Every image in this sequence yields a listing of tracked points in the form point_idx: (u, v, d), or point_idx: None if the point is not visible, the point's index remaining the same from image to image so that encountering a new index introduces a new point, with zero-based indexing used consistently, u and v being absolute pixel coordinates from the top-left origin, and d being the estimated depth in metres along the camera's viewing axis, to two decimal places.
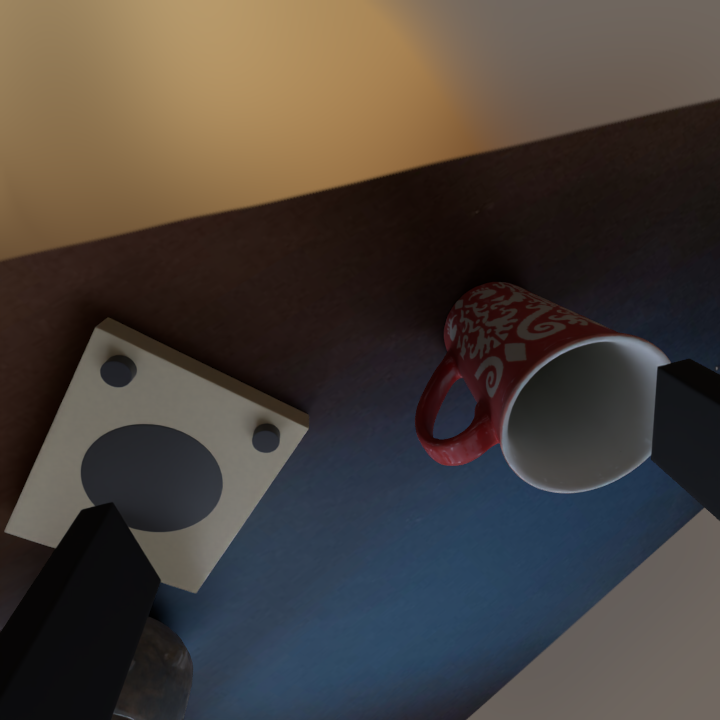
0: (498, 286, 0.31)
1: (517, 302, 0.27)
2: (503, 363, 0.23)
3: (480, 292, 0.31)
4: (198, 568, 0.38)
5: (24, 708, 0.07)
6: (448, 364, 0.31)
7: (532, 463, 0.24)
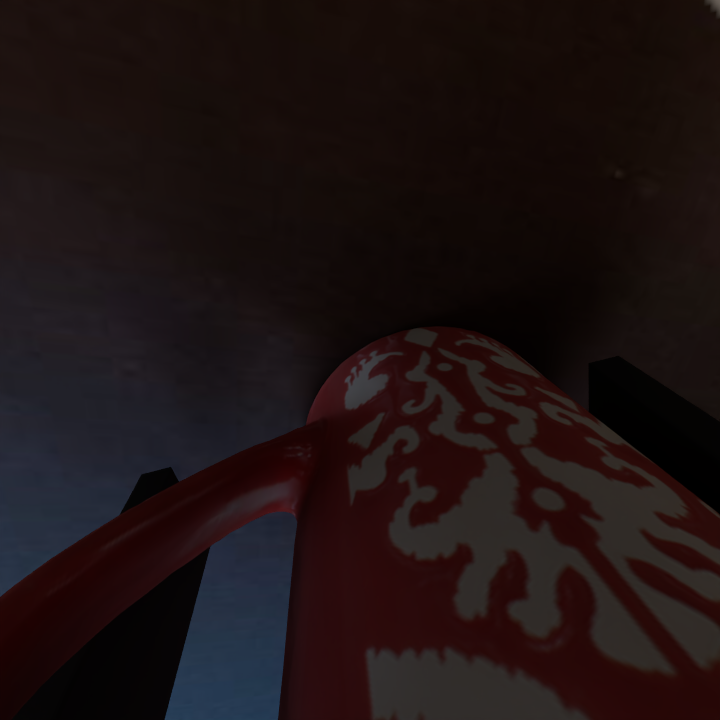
0: (534, 368, 0.11)
1: (645, 458, 0.07)
2: None
3: (492, 348, 0.11)
4: None
5: (117, 638, 0.08)
6: (288, 460, 0.09)
7: None
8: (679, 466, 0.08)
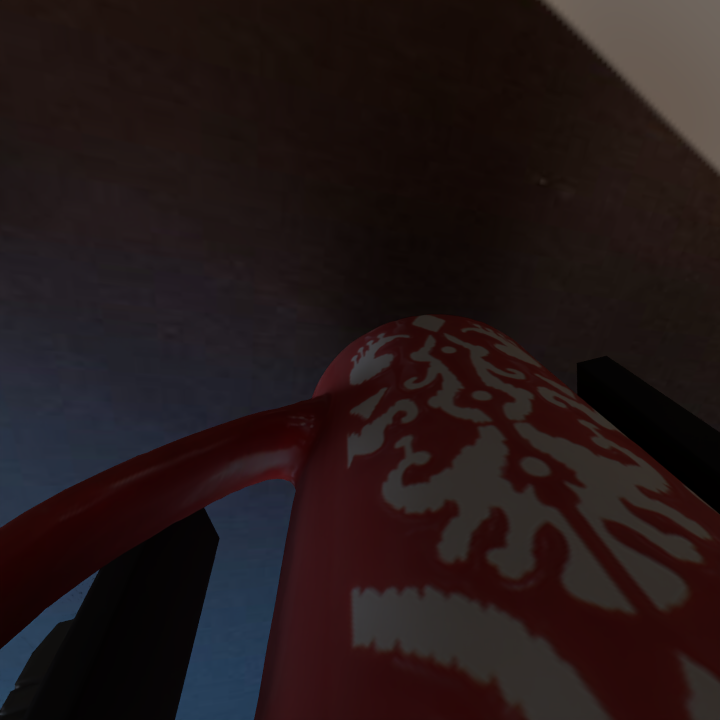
0: None
1: None
2: None
3: (497, 337, 0.11)
4: None
5: (132, 627, 0.08)
6: (291, 429, 0.10)
7: None
8: (663, 465, 0.09)
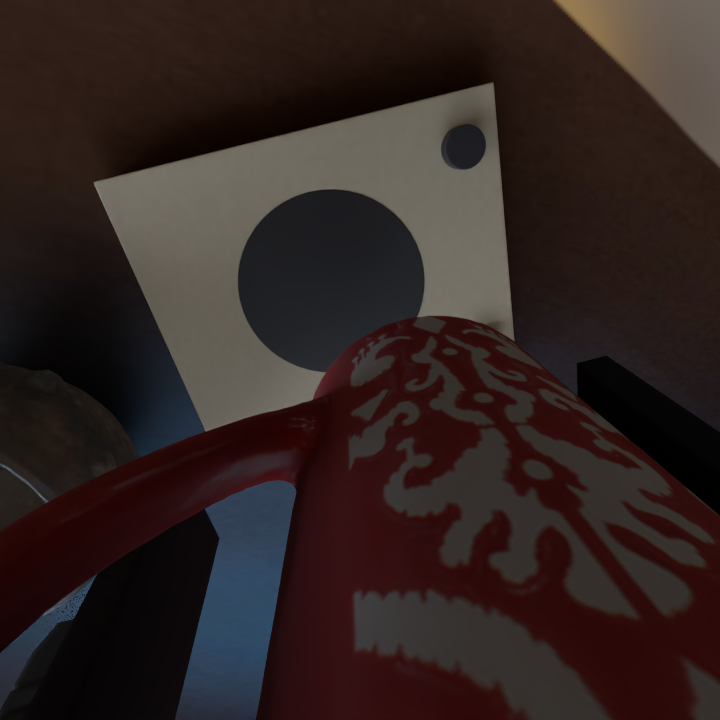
0: (538, 362, 0.11)
1: (637, 447, 0.07)
2: None
3: (498, 339, 0.11)
4: None
5: (131, 628, 0.08)
6: (292, 430, 0.10)
7: None
8: (663, 465, 0.09)
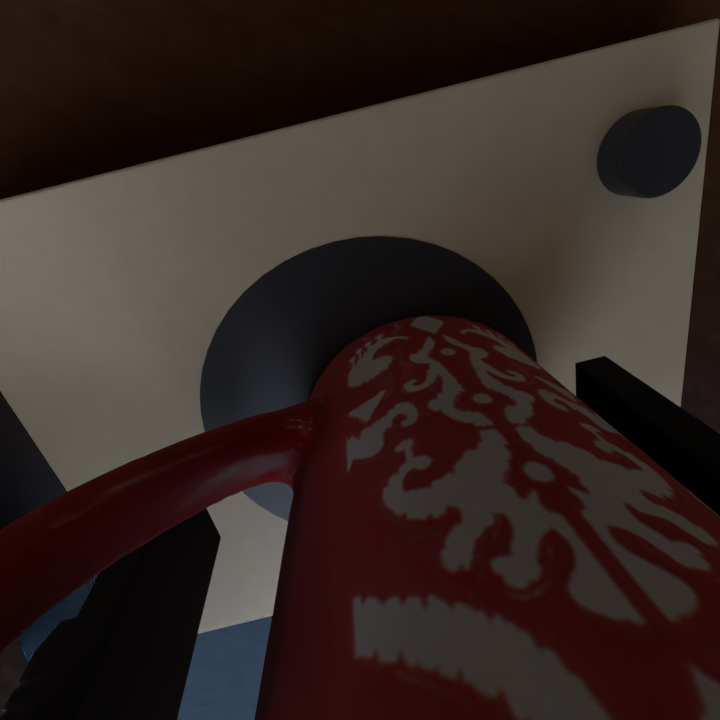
0: (536, 362, 0.11)
1: (637, 447, 0.07)
2: None
3: (496, 339, 0.11)
4: (231, 605, 0.17)
5: (134, 626, 0.08)
6: (289, 431, 0.09)
7: None
8: (660, 464, 0.09)
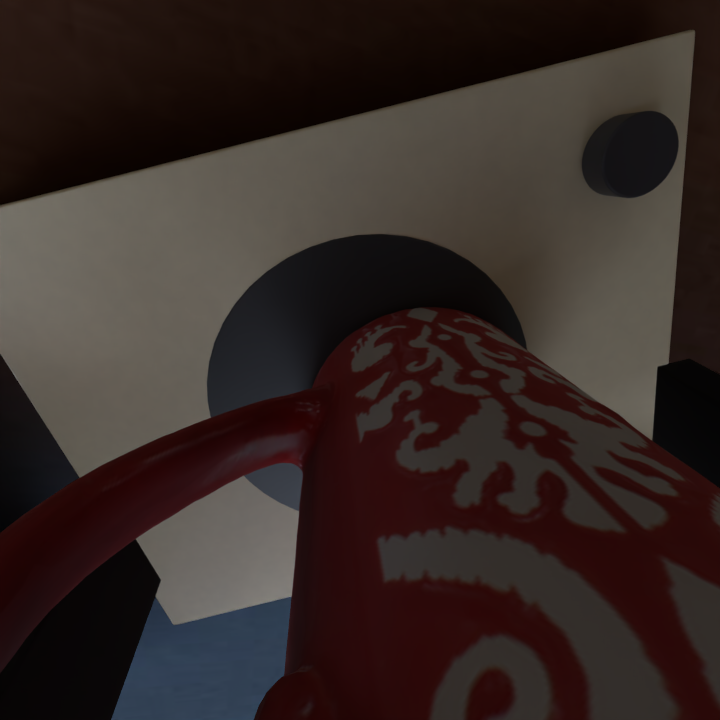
0: None
1: None
2: (683, 708, 0.03)
3: (486, 327, 0.12)
4: (236, 590, 0.17)
5: (24, 708, 0.07)
6: (299, 413, 0.10)
7: None
8: None
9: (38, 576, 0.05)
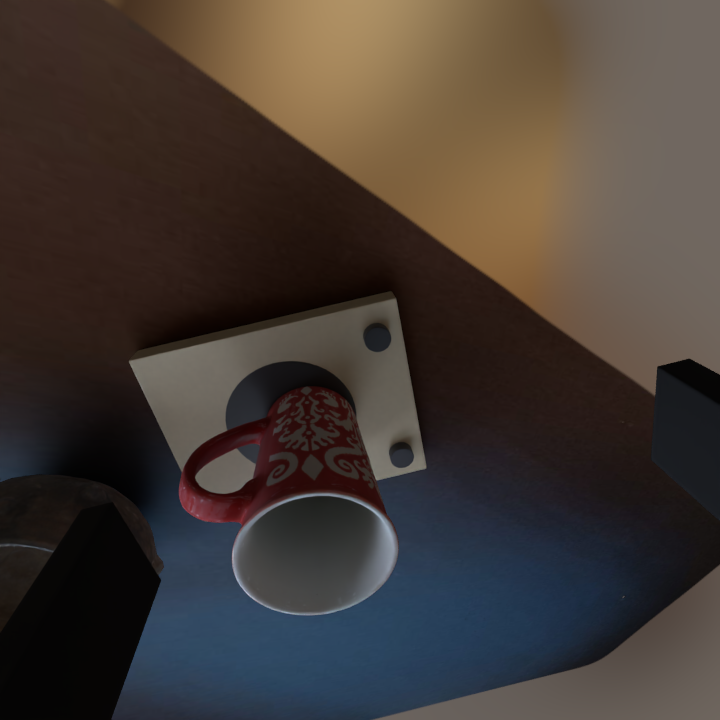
0: (342, 403, 0.34)
1: (344, 429, 0.29)
2: (297, 467, 0.24)
3: (327, 396, 0.33)
4: None
5: (24, 708, 0.07)
6: (258, 427, 0.31)
7: (250, 558, 0.25)
8: None
9: (200, 461, 0.26)
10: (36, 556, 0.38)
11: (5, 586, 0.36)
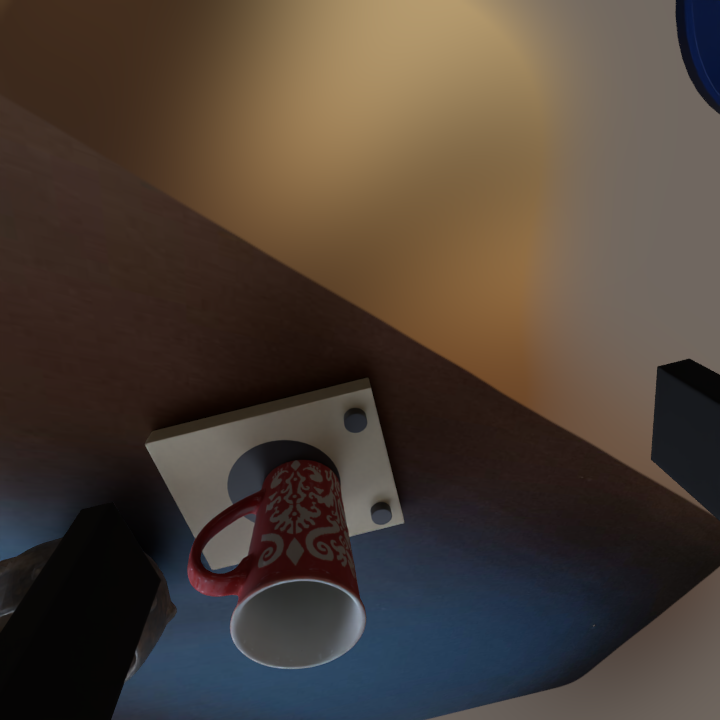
0: (326, 476, 0.39)
1: (325, 506, 0.35)
2: (282, 552, 0.30)
3: (313, 470, 0.39)
4: (237, 555, 0.44)
5: (24, 708, 0.07)
6: (254, 501, 0.37)
7: (246, 624, 0.30)
8: None
9: (204, 541, 0.32)
10: None
11: None
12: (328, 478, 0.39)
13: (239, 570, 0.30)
